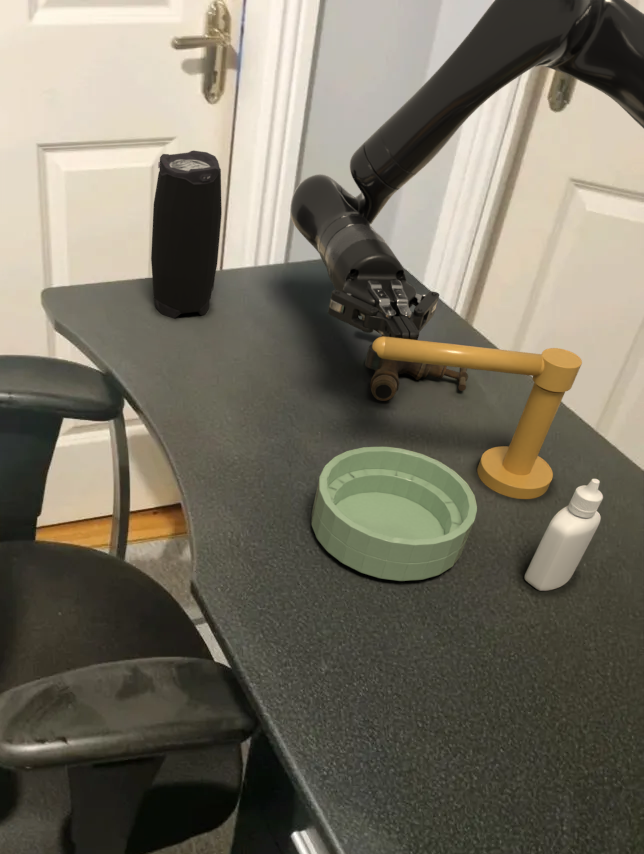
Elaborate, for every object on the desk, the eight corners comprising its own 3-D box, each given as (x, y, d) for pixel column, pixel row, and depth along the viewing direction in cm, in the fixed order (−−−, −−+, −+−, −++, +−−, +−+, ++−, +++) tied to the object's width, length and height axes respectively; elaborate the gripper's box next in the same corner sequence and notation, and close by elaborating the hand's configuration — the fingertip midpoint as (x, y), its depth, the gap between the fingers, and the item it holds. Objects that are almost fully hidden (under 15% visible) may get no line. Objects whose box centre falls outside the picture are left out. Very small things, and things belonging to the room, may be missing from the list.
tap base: (529, 455, 100) (568, 364, 92) (560, 497, 95) (604, 404, 86) (466, 458, 99) (499, 365, 91) (493, 501, 94) (532, 406, 85)
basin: (429, 484, 95) (443, 443, 91) (484, 581, 84) (502, 539, 80) (294, 491, 92) (302, 449, 89) (333, 591, 82) (344, 548, 78)
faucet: (354, 365, 103) (474, 400, 102) (368, 298, 114) (476, 330, 114) (342, 397, 106) (457, 431, 106) (357, 329, 118) (462, 360, 117)
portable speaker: (138, 309, 119) (141, 160, 106) (174, 286, 125) (181, 142, 111) (190, 328, 117) (200, 177, 103) (224, 303, 122) (238, 158, 109)
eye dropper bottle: (513, 562, 87) (556, 466, 78) (565, 561, 87) (614, 466, 79) (529, 592, 83) (576, 496, 75) (583, 591, 84) (635, 495, 76)
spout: (565, 377, 90) (577, 350, 88) (573, 397, 87) (586, 369, 85) (364, 354, 90) (370, 326, 88) (365, 374, 88) (372, 345, 85)
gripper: (314, 236, 97) (354, 308, 85) (424, 239, 99) (479, 309, 87) (303, 299, 102) (339, 375, 90) (408, 300, 104) (457, 375, 92)
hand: (407, 343), depth 88 cm, fingers closed
